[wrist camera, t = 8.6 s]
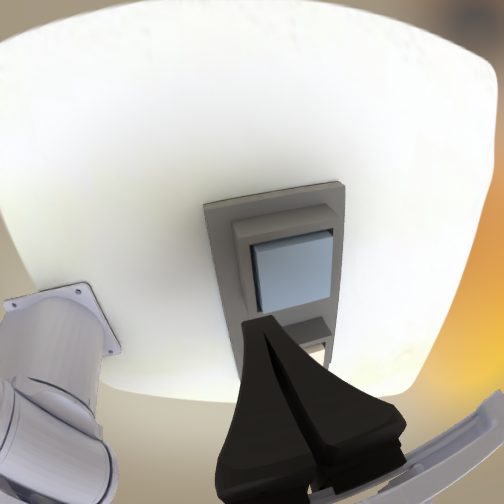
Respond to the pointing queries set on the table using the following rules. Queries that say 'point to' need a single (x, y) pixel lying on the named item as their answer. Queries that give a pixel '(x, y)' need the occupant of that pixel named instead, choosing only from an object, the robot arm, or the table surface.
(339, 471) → the robot arm
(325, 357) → the key board
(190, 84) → the table surface
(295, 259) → the blue key
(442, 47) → the table surface
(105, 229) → the table surface
